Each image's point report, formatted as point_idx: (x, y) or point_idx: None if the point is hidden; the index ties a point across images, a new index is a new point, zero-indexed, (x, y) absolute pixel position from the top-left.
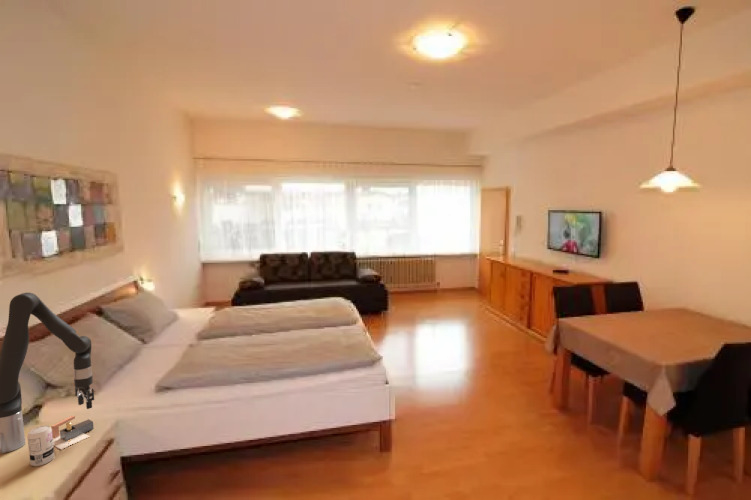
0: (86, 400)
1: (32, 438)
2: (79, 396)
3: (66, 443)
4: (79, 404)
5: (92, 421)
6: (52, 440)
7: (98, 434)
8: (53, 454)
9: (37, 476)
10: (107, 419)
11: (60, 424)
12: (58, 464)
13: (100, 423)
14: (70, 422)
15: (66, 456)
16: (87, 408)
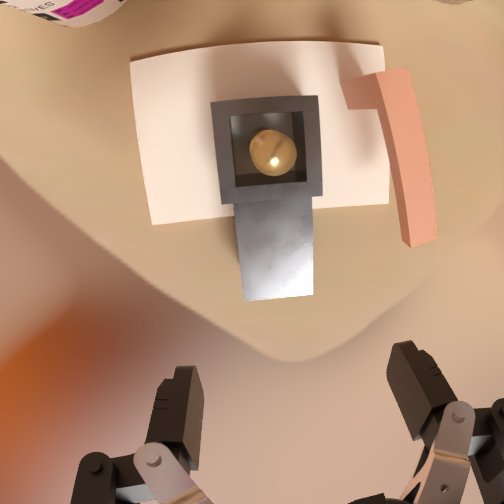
0: (153, 467)
1: None
2: (440, 433)
3: (179, 99)
4: (396, 348)
5: (246, 299)
6: (4, 3)
7: (147, 264)
8: (55, 22)
9: None
10: (302, 348)
11: (385, 126)
12: (5, 49)
13: (289, 315)
14: (266, 168)
15: (38, 80)
16: (177, 370)
